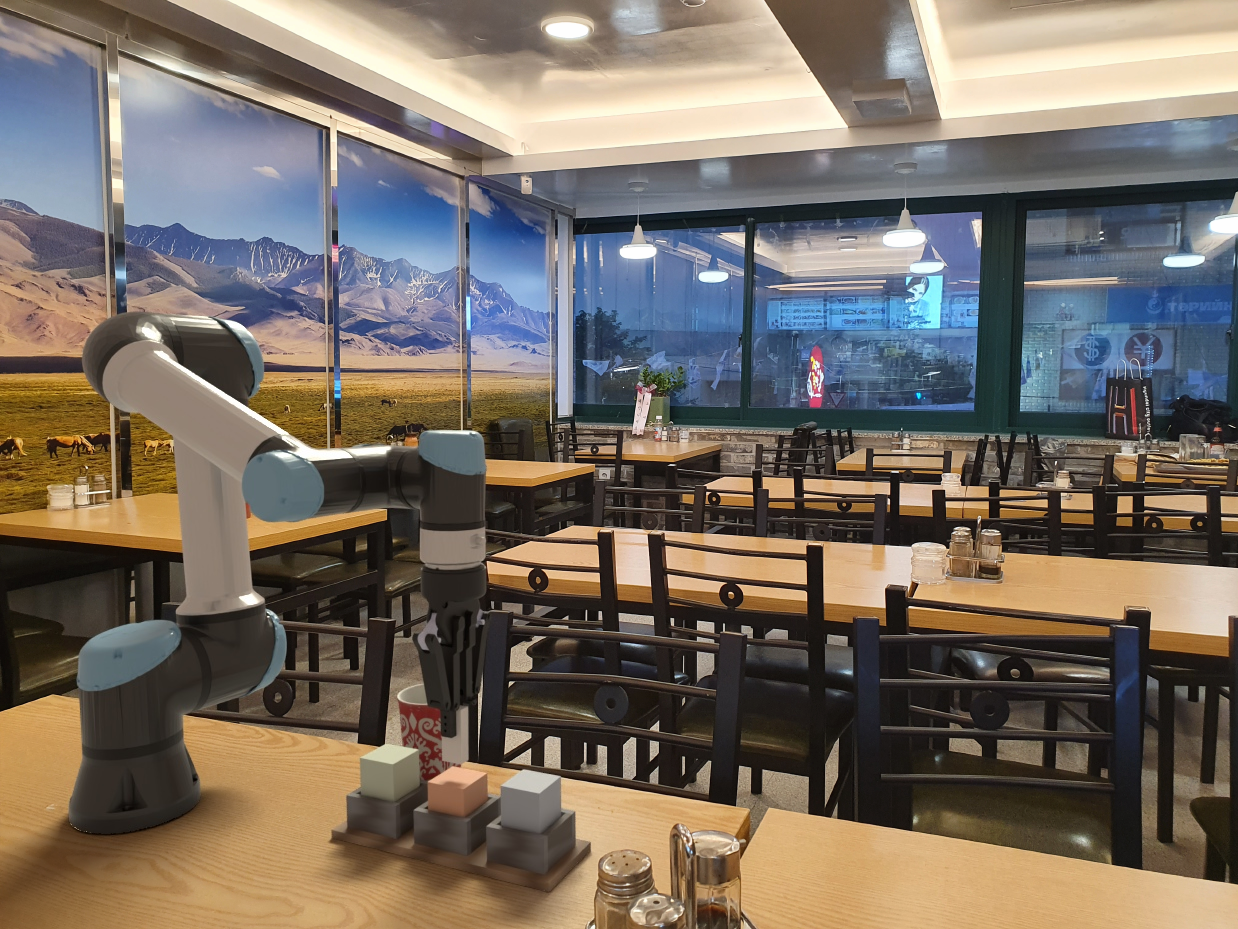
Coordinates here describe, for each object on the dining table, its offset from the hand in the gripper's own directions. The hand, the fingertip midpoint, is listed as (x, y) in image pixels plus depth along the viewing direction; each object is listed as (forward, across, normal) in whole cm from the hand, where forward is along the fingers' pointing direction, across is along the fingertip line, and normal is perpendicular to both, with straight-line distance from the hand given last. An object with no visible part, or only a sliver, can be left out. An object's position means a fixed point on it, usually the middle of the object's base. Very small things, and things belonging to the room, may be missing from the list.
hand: (455, 760), depth 107 cm
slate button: (+7, 0, -10) cm, 12 cm away
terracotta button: (+8, 0, 0) cm, 8 cm away
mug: (+11, +13, +12) cm, 20 cm away
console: (+10, 0, 0) cm, 10 cm away
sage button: (+7, 0, +10) cm, 12 cm away
